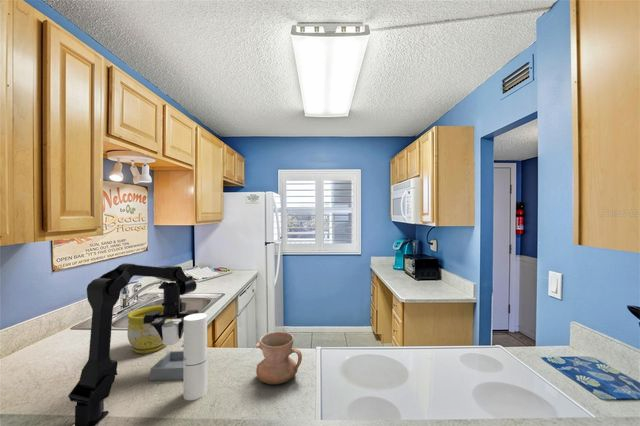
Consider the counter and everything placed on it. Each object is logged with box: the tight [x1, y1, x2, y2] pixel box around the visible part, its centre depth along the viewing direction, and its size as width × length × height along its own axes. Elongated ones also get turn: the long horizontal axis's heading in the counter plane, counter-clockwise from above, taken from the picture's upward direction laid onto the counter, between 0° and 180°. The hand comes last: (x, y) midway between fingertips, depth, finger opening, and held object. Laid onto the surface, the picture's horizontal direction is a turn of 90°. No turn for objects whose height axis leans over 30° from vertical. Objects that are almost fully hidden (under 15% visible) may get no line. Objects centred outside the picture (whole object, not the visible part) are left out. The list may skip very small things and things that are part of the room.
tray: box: [149, 350, 184, 381], centre depth 106 cm, size 14×14×4 cm
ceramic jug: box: [254, 331, 303, 385], centre depth 100 cm, size 18×14×14 cm
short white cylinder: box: [162, 320, 181, 346], centre depth 107 cm, size 7×7×7 cm
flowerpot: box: [126, 305, 174, 354], centre depth 126 cm, size 18×18×16 cm
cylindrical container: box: [182, 312, 208, 401], centre depth 91 cm, size 7×7×25 cm
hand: (171, 338), depth 107 cm, fingers closed on short white cylinder, 6 cm apart
